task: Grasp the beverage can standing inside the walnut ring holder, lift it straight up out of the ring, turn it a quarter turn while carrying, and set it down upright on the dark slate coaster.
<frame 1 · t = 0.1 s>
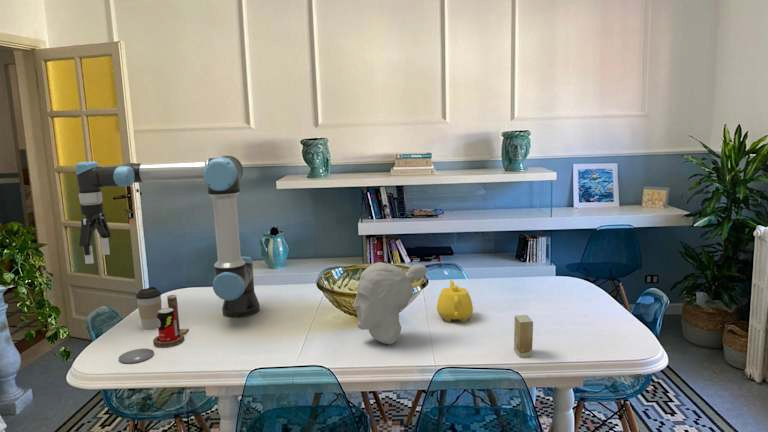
hand: (98, 258, 213), 28 cm above the table, fingers open, 13 cm apart
coffee cup: (152, 326, 219), on the table
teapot: (454, 317, 219), on the table
skincare box: (523, 354, 184), on the table
slate coaster: (136, 356, 190), on the table
bust: (391, 340, 198), on the table
ring holder: (169, 341, 202), on the table
beverage can: (169, 342, 202), resting in ring holder
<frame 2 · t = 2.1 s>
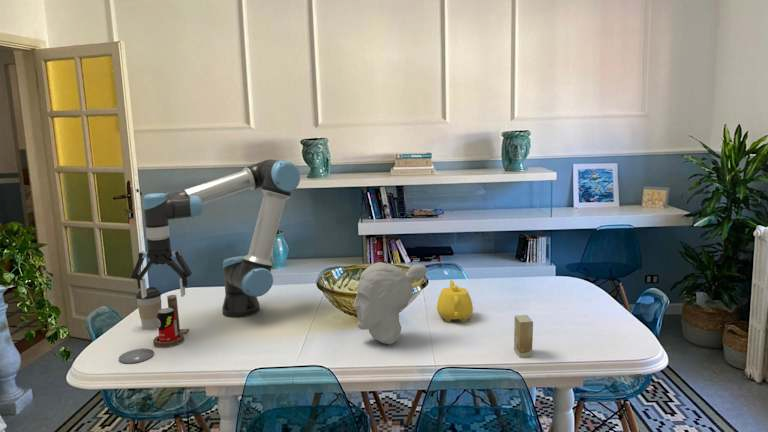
hand: (163, 296, 199), 17 cm above the table, fingers open, 13 cm apart
nothing on the table moved.
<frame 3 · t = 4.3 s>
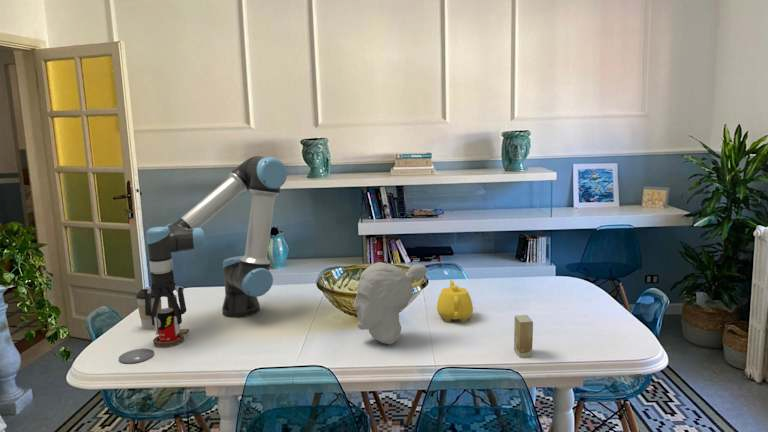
hand: (168, 332, 202), 3 cm above the table, fingers closed on beverage can, 6 cm apart
beverage can: (169, 342, 202), resting in ring holder, touching gripper
everything else where it was.
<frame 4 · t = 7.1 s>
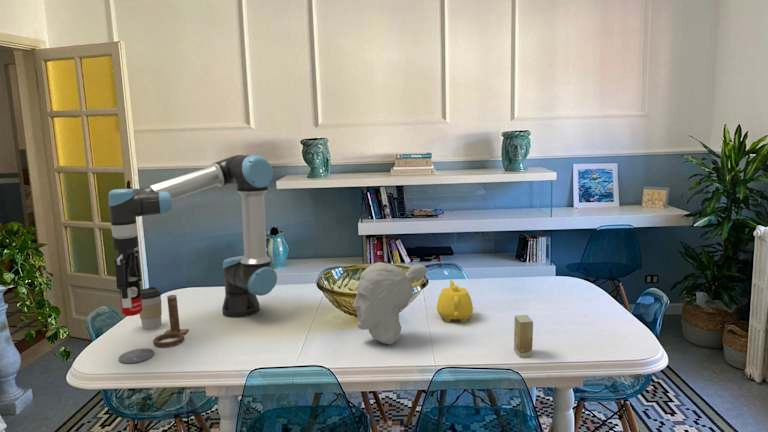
hand: (131, 303, 188), 19 cm above the table, fingers closed on beverage can, 6 cm apart
beverage can: (132, 314, 188), point 15 cm above the table, touching gripper
everything else where it was.
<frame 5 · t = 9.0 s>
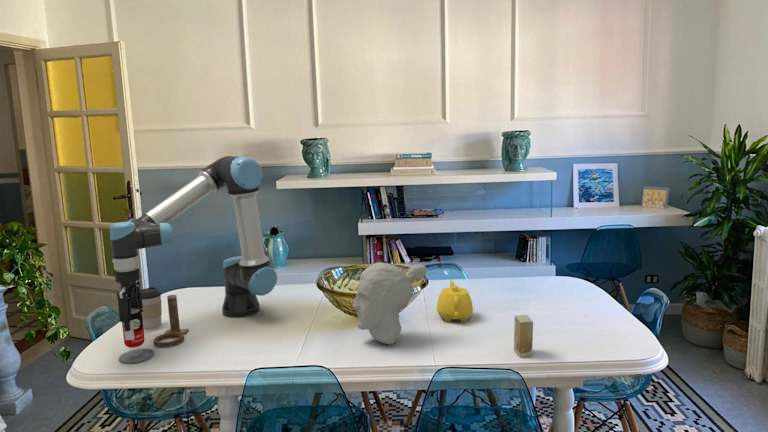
hand: (133, 335, 189), 8 cm above the table, fingers closed on beverage can, 6 cm apart
beverage can: (135, 345, 189), point 4 cm above the table, touching gripper
everything else where it was.
when the fingers open (5 cm above the table, at t = 10.3 s): beverage can drops 1 cm, resting on slate coaster.
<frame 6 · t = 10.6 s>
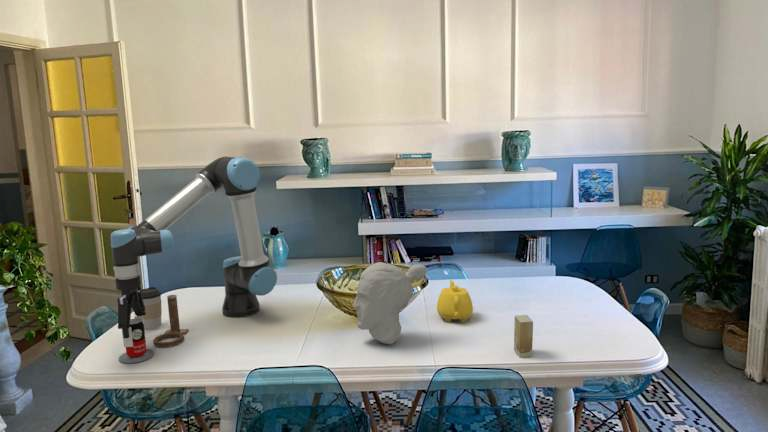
hand: (134, 340, 189), 6 cm above the table, fingers open, 10 cm apart
beverage can: (136, 355, 190), resting on slate coaster
everything else where it was.
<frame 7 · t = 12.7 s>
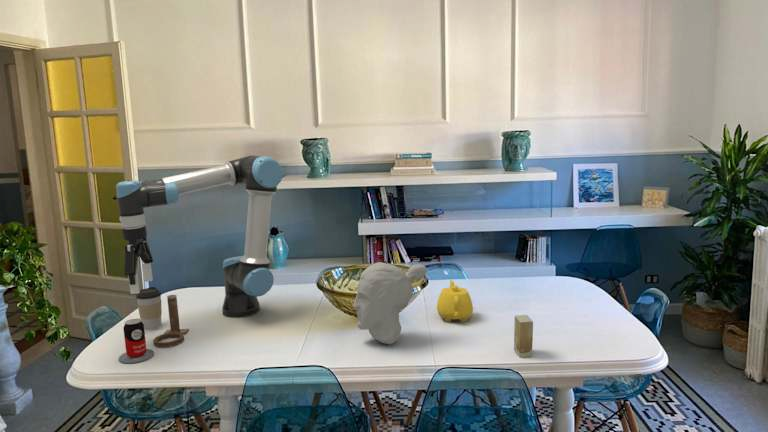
hand: (142, 287, 194), 22 cm above the table, fingers open, 13 cm apart
nothing on the table moved.
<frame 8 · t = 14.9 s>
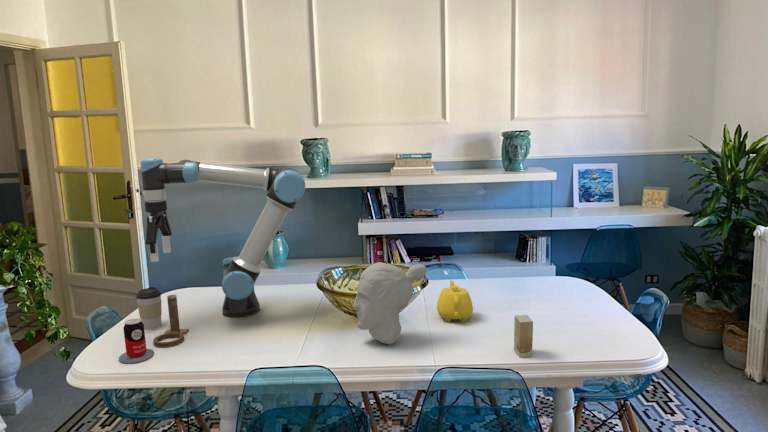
hand: (161, 257, 209), 29 cm above the table, fingers open, 13 cm apart
nothing on the table moved.
at the end: beverage can inside the target area on the slate coaster (0.3 cm from its centre), point 0.4 cm above the slate coaster's base; beverage can tilted 0°; the gripper is holding nothing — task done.
